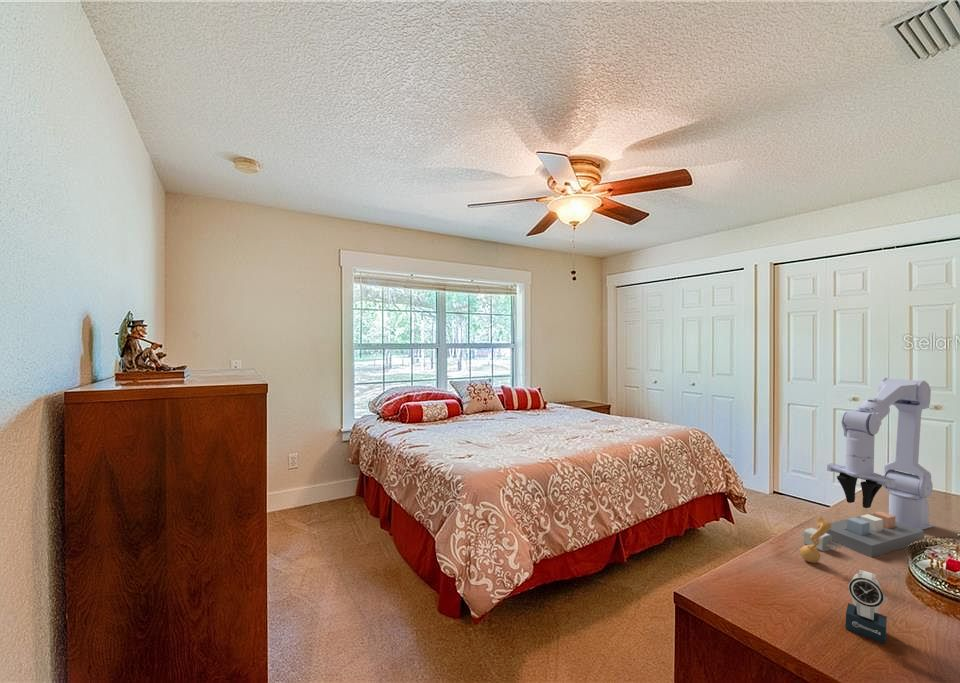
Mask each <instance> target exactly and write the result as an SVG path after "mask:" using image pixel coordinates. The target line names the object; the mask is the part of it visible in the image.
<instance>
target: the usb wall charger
mask: <svg viewBox="0 0 960 683" xmlns="http://www.w3.org/2000/svg"><path fill="white" fill-rule="evenodd" d="M817 531H818V529H816V528H815V527H809V528H806V529H804V532H803V544H804V545H811V544H812V545H814V543H813V542H812V540H811V539H809V538H810V536H812V535H813V534H814V533H816V532H817ZM817 539H818V540H819V544H818V545H817V546H816V547H815V548H816V549H817V550H818V551H821V552H826V551H829V550H831V549H833V550H835V551H836V550H837V548H839V549H841V548H842V547H841V546H842V545H840V544H838V543H835V542H833V541H831V535H830V534H827V533H825V534H824V535H822V536H820V537H819V538H817ZM814 540H815V539H814Z"/></svg>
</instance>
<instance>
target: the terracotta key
mask: <svg viewBox="0 0 960 683" xmlns="http://www.w3.org/2000/svg"><path fill="white" fill-rule="evenodd" d="M872 514H873V516H875V517H878V518H881V519H883V527H884V528H887V529H892V528H895V519H896V516H894V515H891V514H889V512H888V513H887V512H884V511H881V510H879V511H876V512H873V513H872Z"/></svg>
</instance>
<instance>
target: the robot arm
mask: <svg viewBox="0 0 960 683" xmlns="http://www.w3.org/2000/svg"><path fill="white" fill-rule="evenodd" d="M877 391H878V393H877V394H876V395H875V396H874V397H868V398H867V399H865V400H864V401H863V402H862V403H861V404H860V405H858V406H857V407H856V408H855V409H854V410H851V409H850V410H848V411H845V412H844V413H843V415H842V418H841V426H842V429H843V436H844V437H845V440H846V441H845V465H842V464H841V465H840V464H836V463H827V467H826V470H827V471H828V472H831V473H832V472H834V473H838V475H837V476H836V480H838V483H839V484H840V486H841V487H842V490H843V493H844V496H845V499H846V502H847V503H848V504H852V503H855V502H856V501H855V500H856V487H857V481H858V479H859V480H864V481H861V482H860V483H859V484H860V487H861V492H862V493H861V494H862V504H861V505H862V508H863V509H869V508H871V506H872V504H873V501H874V498H875V496H876V495H877V493H878V492H879V490H880V489H881V488H882V487H883V488H884V489H886V492H887V493H888V514H891V515H894V516H896V519H895V521H896V522H899V523H902V524H905V525H908V526H911V527H914V528H917V529H920V530H923V531H924V530H926V529H930V528H933V524H931V523H929V521H930V519H929V518H930V517H929V516H930V505H929V502H928V500H927V499H928V498H930V497H931V496H932V493H933V481H932V474H931V472H930V471H929V470H927V469H926V468H925V467H923V466H922V465H920V464H919V456H920V441H921V440H920V439H921V437H920V436H921V425H922V424H921V422H922V413H923V410H926V409H929V408H930V405H931V394H932V389H931V387H930V385H929V383H928V382H927V381H926V380H912V379H900V378H888V377H883V378H881V380H880V381H879V383H878V385H877ZM892 405H893V406H895V408H896V409H897V411H898V412H897V426H896V427H897V428H896V441H895V442H896V443H895V444H896V445H895V457H894V458H895V460H893V461H890V462H888V463H886V464H885V465H884V467H883V469H882V470H883V471H882V474H878V473H876V472H875V470H874V469H875V439H876V438H875V436H876V435H877V434H878V433H879V430H880V427H881V425H882V421H883V420H884V419H885V418H886V417H887V416H888V415H889V413H890V411H891V408H890V406H892Z"/></svg>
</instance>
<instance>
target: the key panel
mask: <svg viewBox="0 0 960 683" xmlns="http://www.w3.org/2000/svg"><path fill="white" fill-rule="evenodd" d="M868 514H869V515H872V516H873V513H868ZM860 516H861V515H858V516H854V517H855V518H858V519H860ZM847 519H848V518H846V519H842V520H838V521H832V522H829V523H830V524H831V528H830V529H829V530H828V531H827V532H826V533H827V534H830V535H831V542H833V543H836V544H838V545H840V546H842V547H845V548H847V549H850V550H853V551H855V552H858V553H860V554H862V555H864V556H867V557H870V558H874V557H877V556H881V555H884V554H888V553H891V552H894V551H897V550H900V549H901V550H902V549H904V548H907V546H908V545H910V544H911V543H913V542H915V541H918V540H922V539H924V540H925V530H924V529H923V530H920V529H917V528H914V527H911V526H908V525H905V524H902V523H899V522H896V521H895V528H892V529H887V528H884V527H883V531H881V532H877V533H875V532H873V531H870V530H869V535H866V536H861V535H858V534H855V533H853V532H850V531H847ZM908 547H909V546H908Z"/></svg>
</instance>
